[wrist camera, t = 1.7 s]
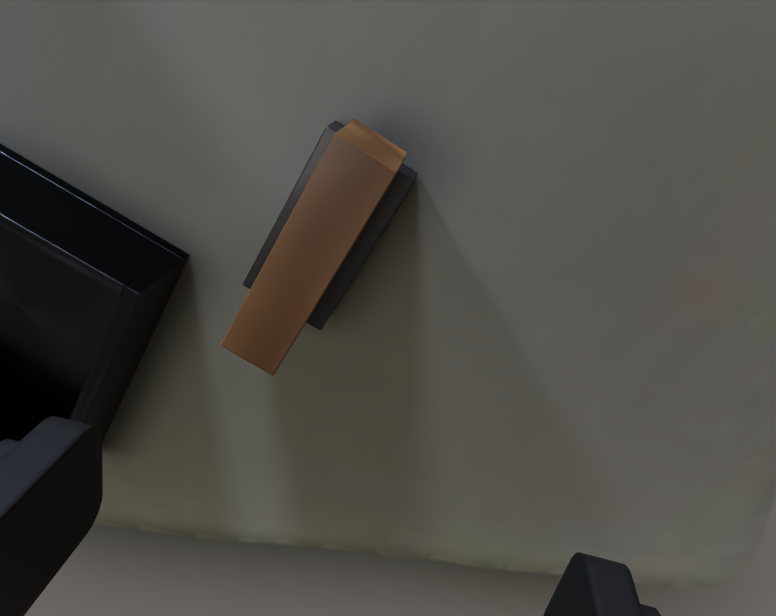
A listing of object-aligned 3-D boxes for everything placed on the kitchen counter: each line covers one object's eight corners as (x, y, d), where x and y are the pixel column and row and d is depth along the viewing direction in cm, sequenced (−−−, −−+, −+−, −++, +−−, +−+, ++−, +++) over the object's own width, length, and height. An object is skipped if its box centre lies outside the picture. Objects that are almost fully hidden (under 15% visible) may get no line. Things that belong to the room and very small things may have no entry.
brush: (247, 284, 35) (201, 335, 29) (344, 102, 30) (313, 118, 24) (320, 328, 35) (290, 386, 29) (428, 156, 30) (417, 185, 24)
